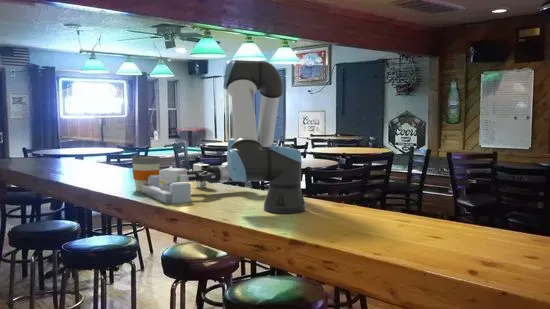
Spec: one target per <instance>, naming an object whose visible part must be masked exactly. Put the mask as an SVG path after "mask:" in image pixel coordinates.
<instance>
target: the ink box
mask: <svg viewBox="0 0 550 309" xmlns="http://www.w3.org/2000/svg"><path fill="white" fill-rule="evenodd" d="M187 171H188V169H187V168H179V167H172V168H171V167H169V168H163V169H160V170H159V188H160V189H163V190H165V191H168V192H169V184H171V183H176V182H180V176H182V175H187Z"/></svg>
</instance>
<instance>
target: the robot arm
mask: <svg viewBox="0 0 550 309" xmlns="http://www.w3.org/2000/svg"><path fill="white" fill-rule="evenodd" d="M223 89H224V90H226V91H227V93H228V95H229V96H230V97H231V107H232V109H231V110H232V125H233V128H232V129H233V138H229V139H228V141H227V152H226V165H223V164H222V165H211V166H209V167H208V168H207V170H206V171H204V170H201V171H200V170H199V171H192V170H187V175H182V176H180V182H188V183H192V182H196V183H197V182H198V181H199V182H203V181H207V182H208V183H209V184H217V183H221V184H224V183H230V182H231V183H232V182H241V183H247V182H248V183H249V182H255V183H256V182H262V183H264V182H268V190H267V193H266V196H265V200H264V203H263V210H264V211H266V212H269V213H273V214H274V213H275V214H298V213H303V212H305V211H306V203H305V199H304V196H303V192H302V189H301V187H302V163H303V162H302V161H303V160H302V153H301V151H300V150H299V149H298V148H294V147H288V146H280V145H277V143H275V142H274V140H275V138H274V137H275V131H276V125H277V119H278V112H279V111H278V110H279V102H280V98H281V97H282V96H283V94H284V93H283V92H284V83H283V79H282V76H281V74H280V72H279V71H278V69H277V68H276V67H275V66H274V65H273V64H272V63H270V62H268V61H264V60H243V59H241V60H240V59H239V60H238V59H233V60H232V59H231V60H228V61H227V62H226V63H225V70H224V78H223ZM257 91H259V94H260V96H261V99H260V106H259V115H258V124H257V120H256V110H255V99H254V96H255V95H256V93H257ZM257 125H258V126H257ZM304 210H305V211H304ZM302 211H303V212H302Z"/></svg>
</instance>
